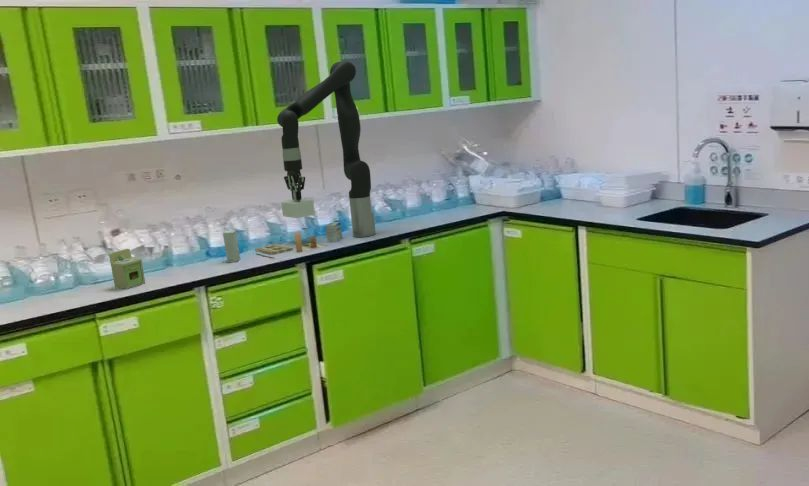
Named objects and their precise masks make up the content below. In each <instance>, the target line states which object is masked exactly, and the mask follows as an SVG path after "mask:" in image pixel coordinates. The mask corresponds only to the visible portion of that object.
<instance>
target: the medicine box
mask: <svg viewBox="0 0 809 486" xmlns="http://www.w3.org/2000/svg"><path fill="white" fill-rule="evenodd" d="M325 233H326V240H327V242H326V243H338V242H339V241H340V240H342V239H343V235H342V224H341V221H333V222H330V223H328V224H327V225H325Z"/></svg>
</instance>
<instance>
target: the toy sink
mask: <svg viewBox="0 0 809 486" xmlns="http://www.w3.org/2000/svg"><path fill="white" fill-rule="evenodd" d="M108 256H109V261H110V267H111V273H112V277H113V284H114V285H113V286H114V288H116V289H121V290H129V289H131V288H134V287H137V286H141V285H144V284H146V278H145V273H144V268H143V267H144V266H143V259H142V258H139V257H132V254H131V249H130V248H123V249H120V250H116V251H112V252H110V253H109V254H108Z"/></svg>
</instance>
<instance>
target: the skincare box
mask: <svg viewBox="0 0 809 486" xmlns="http://www.w3.org/2000/svg"><path fill="white" fill-rule="evenodd" d="M222 237H223V242H224V249H225V255H226V261H227V263H237V262H238V261H240V260H241V255H240V249H239V243H238V236H237V230H236V229H232V230H226V231H224V232H223V233H222Z"/></svg>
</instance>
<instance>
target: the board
mask: <svg viewBox="0 0 809 486" xmlns="http://www.w3.org/2000/svg"><path fill="white" fill-rule="evenodd" d="M309 241H310V242H309V243H304V244H302V250H303V251H310V250H316V249H319V248H320V249H321V248H324V247H328V244H323V243H317V238H316V236H311V237H309ZM294 248H295V249H296V245H294V246H293V249H294Z"/></svg>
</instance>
